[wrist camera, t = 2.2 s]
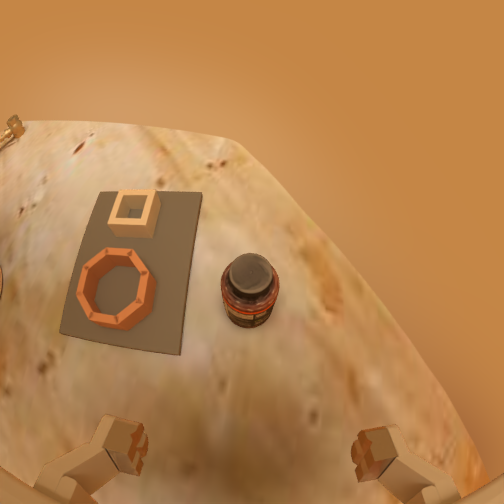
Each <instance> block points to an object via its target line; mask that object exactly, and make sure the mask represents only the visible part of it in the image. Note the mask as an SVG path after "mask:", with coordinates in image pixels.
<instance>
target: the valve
mask: <svg viewBox="0 0 504 504" xmlns="http://www.w3.org/2000/svg"><path fill="white" fill-rule="evenodd" d="M7 125H8V126H9V128H8V129H6V130H5V133H4V135H3V136H2V135H1V136H0V142H2V141H4V139H5V138H10V137H11V135H12V134H13V135H14V137H15V138H20V137H21V136H22V135H23V134H24V132H25V129H24V127H22V122H21V121H20V120H19V118H18V116H17V115H13V116H12V117H11V118H9V120H8V121H7Z"/></svg>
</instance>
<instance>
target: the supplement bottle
mask: <svg viewBox="0 0 504 504" xmlns="http://www.w3.org/2000/svg"><path fill="white" fill-rule="evenodd" d="M221 291H222V297H223V301H224V302H223V303H224V306H225V310H226V313H227V315H228V317H229V318H230V320H231V321H232V322H233V323H235V324H236V325H238V326H240V327H244V328H253V327H257V326H259V325H261V324H263V323H264V322H265V321H266V320H267V319H268V317H269V316H270V314H271V312H272V309H273V306H274V304H275V301H276V298H277V295H278V292H279V278H278V275H277V273H276V271H275V269H274V268H273V267H272V266H271V264H270V263H269V262H268V261H267V260H266V259H265V258H264V257H262V256H261V255H258V254H254V253H247V254H243V255H241V256H239V257H237V258H236V259H235V260H234V261H233V262H232V263H230V264H229V265H228V266H227V268H226V269H225V271H224V272H223V275H222V278H221Z"/></svg>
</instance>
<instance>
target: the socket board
mask: <svg viewBox="0 0 504 504" xmlns="http://www.w3.org/2000/svg"><path fill="white" fill-rule="evenodd" d="M201 201H202V192H169V191H156V190H119V191H118V192H100V194H99V196H98V199H97V201H96V204H95V206H94V209H93V211H92V214H91V217H90V220H89V222H88V225H87V228H86V231H85V234H84V237H83V240H82V243H81V246H80V249H79V253H78V256H77V259H76V263H75V266H74V270H73V273H72V277H71V281H70V285H69V289H68V293H67V297H66V301H65V306H64V310H63V315H62V320H61V326H60V331H59V333H61V334H64V335H68V336H73V337H77V338H81V339H85V340H90V341H95V342H99V343H104V344H109V345H115V346H120V347H126V348H131V349H137V350H144V351H150V352H157V353H164V354H172V355H180V353H181V343H182V333H183V324H184V315H185V307H186V299H187V291H188V284H189V276H190V269H191V262H192V256H193V249H194V243H195V236H196V230H197V224H198V218H199V213H200V207H201Z"/></svg>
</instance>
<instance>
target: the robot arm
mask: <svg viewBox="0 0 504 504" xmlns="http://www.w3.org/2000/svg"><path fill="white" fill-rule="evenodd" d="M1 288H2V271H1V267H0V294H1ZM143 431H144V426H143V423H139V422H135V421H131V420H126V419H122V418H119V417H115V416H112V415H108V414H105V415H104V416H103V417H102V419H101V421H100V423H99V425H98V427H97V429H96V431H95V433H94V435H93V437H92V439H91V441H90V443H85V444H83V445H81V446H79V447H77V448H76V449H74V450H72V451H70V452H68V453H66V454H65V455H63V456H61V457H59V458H57V459H55V460H53V461H51V462H49V463H47V464H45V465H44V467H43V469H42V471H41V473H40V475H39V477H38V479H37V481H36V483H35V485H34V487H31V486H29V485H28V484H26V483H24V482H23V481H21V480H20V479H18V478H17V477H15V476H14V475H12V474H11V473H9V472H8V471H6V470H5V469H3V468H2V467H1V466H0V504H98V502H96V501H95V500H94V499H93V498H92V497H91V496H90V495H91V494H93V493H94V492H95V491H97V490H98V489H99V488H101V487H102V486H103V485H104V484H106V483H107V482H108V481H110V480H111V479H112V478H113V477H115V476H116V475H117V474H118V473H120V472H124V473H128V474H132V475H136V476H140V473H141V470H142V467H143V462H142V459H141V458H143V457H144V456H145V455H146V454H147V451H148V443H149V442H148V437H147V434H145V433H144V432H143ZM357 436H358V439H357V440H356V441H354V443H353V445H352V447H351V457H352V461H353V462H354V463H355V464H356V465H357V467H356V469H355V472H356V476H357V480H358V483H359V482H365V481H370V480H375V479H378V481H379V482H380V483H381V484H382V485H383V486H384V487H385V488H387V489H388V490H389V491H390V492H391V493H392V494H393V495H394V496H395V497H397V498H398V499H399V500H400V501H401V502H402V503H404V504H504V473H503V474H501V475H500V476H498V477H497V478H495V479H494V480H492V481H491V482H489V483H487V484H486V485H484V486H483V487H481V488H479V489H478V490H476V491H474V492H472V493H471V494H469V495H467V496H465V497H463V498H461V497H460V494H459V492H458V490H457V488H456V485H455V483H454V481H453V479H452V477H451V476H450V475H448V474H447V473H445V472H443V471H442V470H440V469H438V468H437V467H435V466H433V465H432V464H430V463H429V462H427V461H425V460H424V459H422V458H421V457H419V456H418V455H416V454H415V453H410V452H409V449H408V447H407V445H406V443H405V440H404V438H403V436H402V434H401V432H400V430H399V427H398V426H397V425H396V424H393V425H389V426H382V427H377V428H372V429H366V430H361V431H360V432H359V433H358V435H357ZM119 471H120V472H119Z"/></svg>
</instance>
